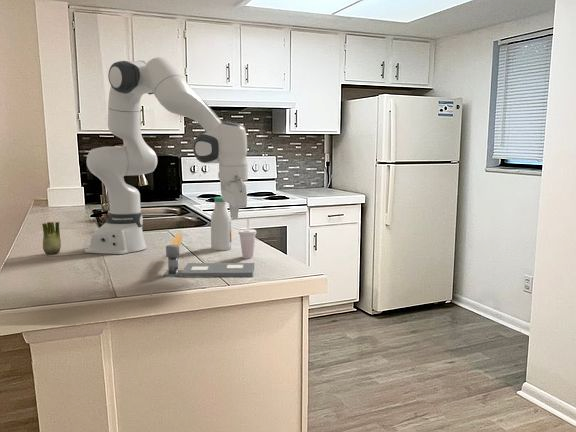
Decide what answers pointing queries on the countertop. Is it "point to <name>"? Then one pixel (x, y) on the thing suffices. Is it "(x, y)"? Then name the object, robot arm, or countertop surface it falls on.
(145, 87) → the robot arm
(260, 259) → the countertop surface
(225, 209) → the milk bottle
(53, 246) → the fennel bulb
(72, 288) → the countertop surface
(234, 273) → the tray
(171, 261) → the pivot post
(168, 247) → the strip
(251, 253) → the smoothie
